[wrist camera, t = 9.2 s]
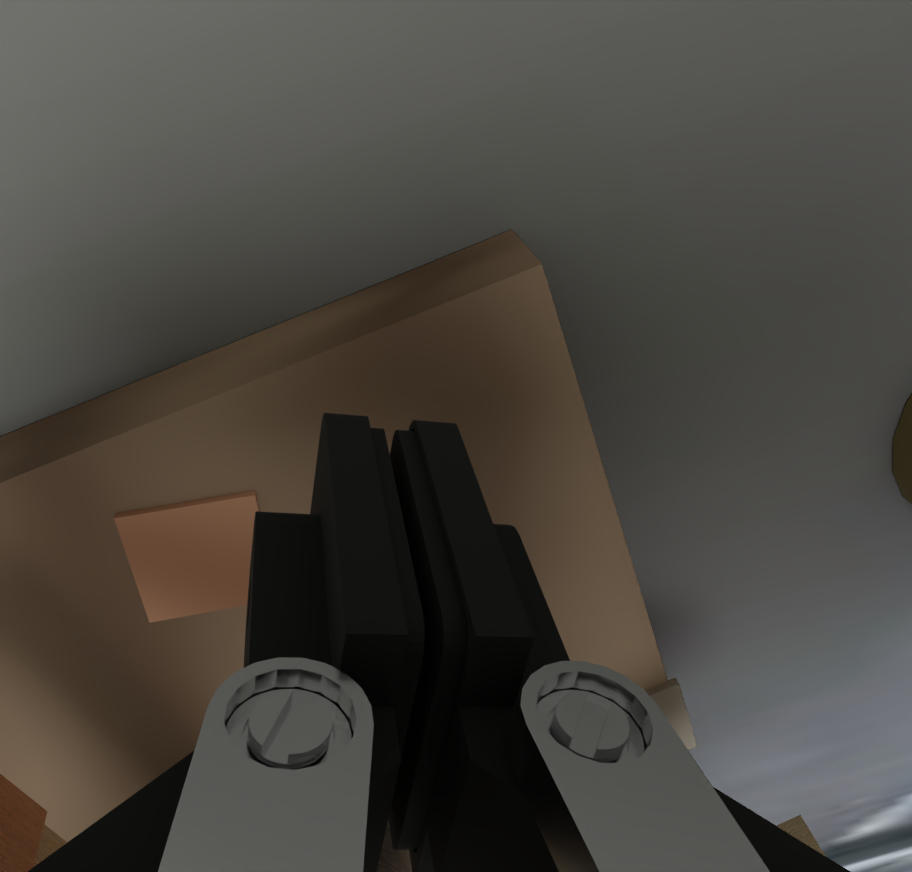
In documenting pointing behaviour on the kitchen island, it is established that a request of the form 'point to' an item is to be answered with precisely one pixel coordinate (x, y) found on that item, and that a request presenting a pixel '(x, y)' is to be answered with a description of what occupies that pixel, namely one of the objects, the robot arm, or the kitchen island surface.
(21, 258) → the kitchen island surface
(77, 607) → the wooden cutting board
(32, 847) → the capstan
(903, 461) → the cork
